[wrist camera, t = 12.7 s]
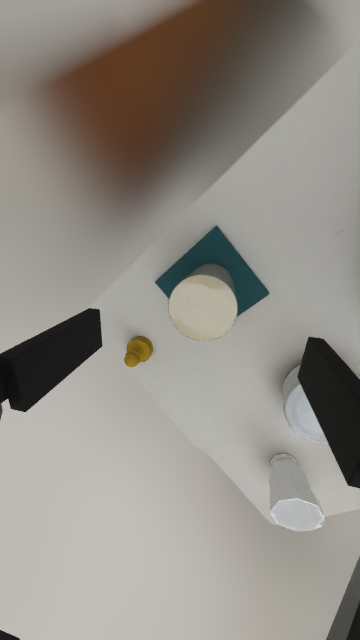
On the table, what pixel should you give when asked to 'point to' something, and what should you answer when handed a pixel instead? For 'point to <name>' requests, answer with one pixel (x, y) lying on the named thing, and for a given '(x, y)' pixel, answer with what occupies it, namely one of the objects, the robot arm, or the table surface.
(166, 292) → the mat
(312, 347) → the robot arm
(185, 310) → the cream cylinder
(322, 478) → the table surface
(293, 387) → the ramekin
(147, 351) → the chess piece
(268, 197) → the table surface
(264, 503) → the table surface
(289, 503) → the cup
